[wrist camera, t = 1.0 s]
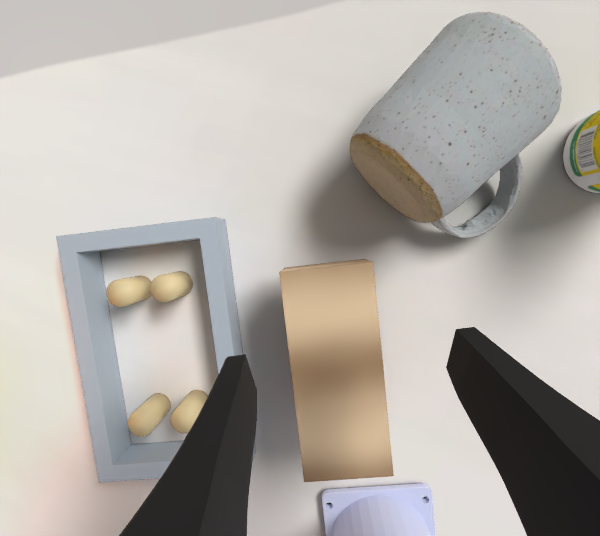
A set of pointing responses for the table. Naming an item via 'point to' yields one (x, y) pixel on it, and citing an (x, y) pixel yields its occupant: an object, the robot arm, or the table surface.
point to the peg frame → (101, 347)
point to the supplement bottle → (584, 154)
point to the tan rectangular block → (337, 370)
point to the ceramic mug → (460, 122)
